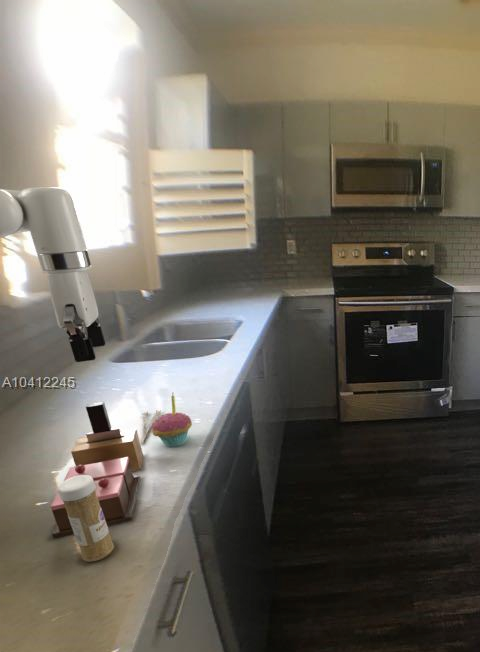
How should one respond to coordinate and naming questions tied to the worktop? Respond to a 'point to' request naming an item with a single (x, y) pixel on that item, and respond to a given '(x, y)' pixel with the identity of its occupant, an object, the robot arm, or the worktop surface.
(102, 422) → the knife
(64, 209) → the robot arm
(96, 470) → the pink double-door cabinet
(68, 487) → the sprinkles bottle
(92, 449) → the knife block
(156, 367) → the worktop surface
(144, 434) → the tweezers
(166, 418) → the cupcake
